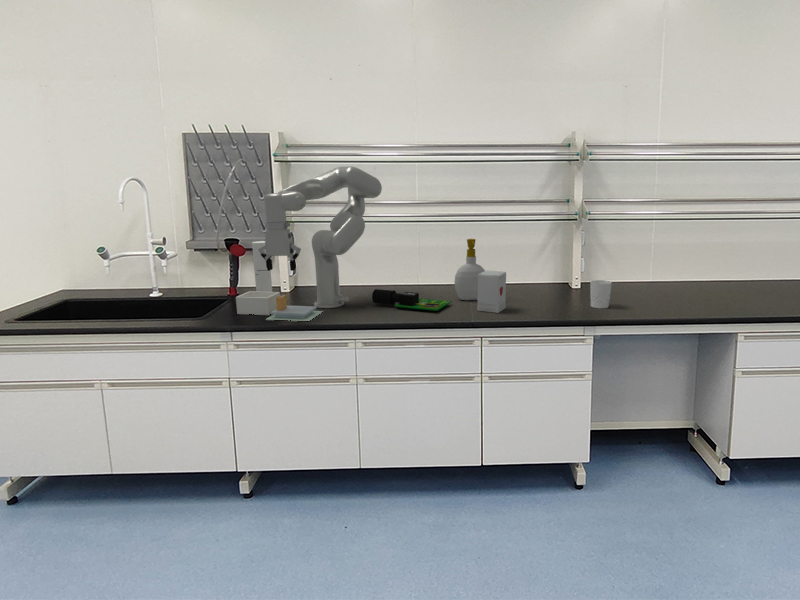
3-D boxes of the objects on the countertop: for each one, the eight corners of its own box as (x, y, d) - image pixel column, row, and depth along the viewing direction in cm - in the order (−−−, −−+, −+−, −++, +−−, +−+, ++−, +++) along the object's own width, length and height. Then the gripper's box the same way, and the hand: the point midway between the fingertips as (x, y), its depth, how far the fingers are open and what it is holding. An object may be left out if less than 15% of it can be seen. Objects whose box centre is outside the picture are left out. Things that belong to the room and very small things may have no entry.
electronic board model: (451, 289, 228) (436, 296, 215) (451, 305, 230) (436, 313, 217) (387, 283, 242) (370, 290, 229) (388, 299, 243) (370, 307, 230)
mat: (323, 312, 224) (323, 311, 224) (309, 322, 210) (308, 321, 210) (282, 310, 228) (282, 309, 228) (265, 320, 214) (265, 319, 214)
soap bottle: (456, 302, 233) (456, 241, 227) (452, 298, 242) (452, 238, 236) (490, 301, 235) (490, 239, 229) (484, 296, 243) (485, 237, 237)
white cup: (601, 310, 216) (602, 284, 214) (584, 306, 223) (586, 281, 220) (614, 307, 220) (615, 282, 218) (597, 303, 227) (599, 279, 224)
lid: (316, 312, 222) (315, 294, 221) (305, 319, 212) (304, 300, 210) (283, 310, 226) (282, 293, 224) (270, 318, 215) (269, 299, 213)
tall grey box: (268, 298, 251) (264, 243, 245) (254, 297, 252) (249, 243, 247) (275, 294, 258) (271, 241, 252) (260, 294, 259) (256, 241, 253)
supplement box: (498, 313, 215) (499, 275, 212) (476, 311, 219) (477, 273, 216) (506, 308, 223) (506, 271, 219) (485, 306, 227) (485, 270, 224)
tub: (281, 308, 231) (279, 292, 230) (269, 315, 221) (267, 298, 219) (250, 307, 235) (249, 291, 233) (237, 314, 224) (235, 297, 223)
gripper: (301, 224, 213) (305, 268, 218) (261, 225, 218) (265, 268, 222) (293, 227, 206) (298, 272, 211) (251, 227, 211) (256, 272, 215)
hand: (281, 270), depth 216 cm, fingers open, 9 cm apart
